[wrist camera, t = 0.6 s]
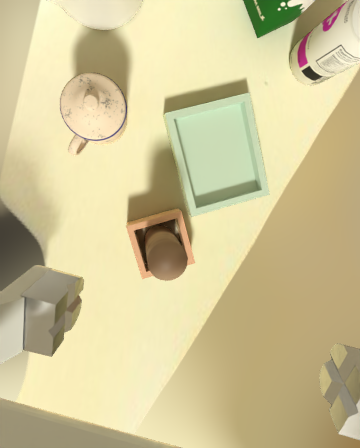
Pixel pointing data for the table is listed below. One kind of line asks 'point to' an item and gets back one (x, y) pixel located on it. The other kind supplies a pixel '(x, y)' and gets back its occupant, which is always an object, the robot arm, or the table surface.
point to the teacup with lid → (93, 110)
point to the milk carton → (274, 13)
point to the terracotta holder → (154, 220)
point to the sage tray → (217, 153)
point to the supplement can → (328, 46)
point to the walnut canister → (164, 253)
